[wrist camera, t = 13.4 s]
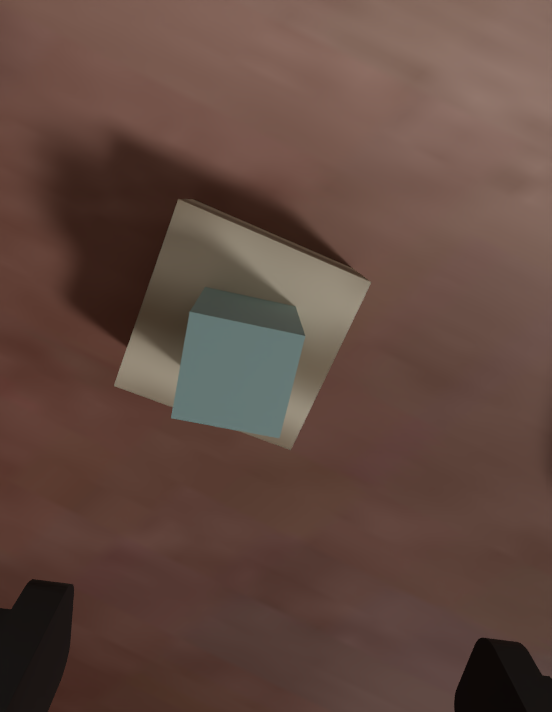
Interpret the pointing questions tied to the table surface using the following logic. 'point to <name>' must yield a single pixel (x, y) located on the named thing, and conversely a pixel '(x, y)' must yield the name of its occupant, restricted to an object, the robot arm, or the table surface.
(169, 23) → the table surface
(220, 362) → the teal block
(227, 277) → the birch block
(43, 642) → the robot arm
